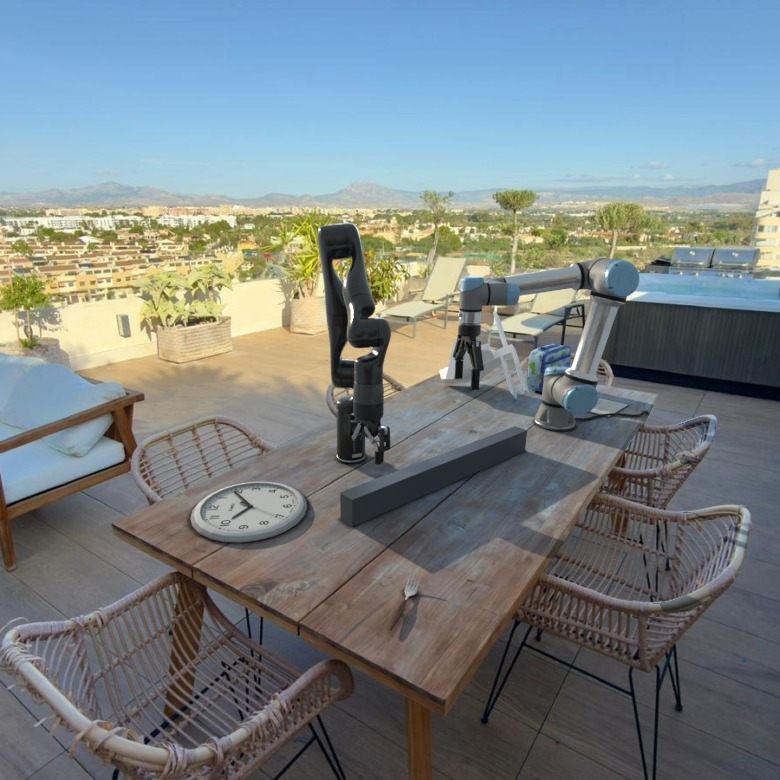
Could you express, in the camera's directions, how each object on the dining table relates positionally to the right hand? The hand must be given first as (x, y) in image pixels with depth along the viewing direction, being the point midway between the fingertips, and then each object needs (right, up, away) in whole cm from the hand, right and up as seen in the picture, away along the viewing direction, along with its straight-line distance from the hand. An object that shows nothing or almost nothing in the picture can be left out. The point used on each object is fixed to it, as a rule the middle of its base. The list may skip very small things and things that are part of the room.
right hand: (466, 384), depth 182 cm
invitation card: (+65, -9, +44) cm, 79 cm away
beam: (-10, -29, -24) cm, 39 cm away
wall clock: (-64, -34, -42) cm, 84 cm away
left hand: (-32, -20, -48) cm, 61 cm away
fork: (-24, -46, -77) cm, 92 cm away
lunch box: (+49, -1, +69) cm, 85 cm away
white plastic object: (+15, -3, +61) cm, 63 cm away
